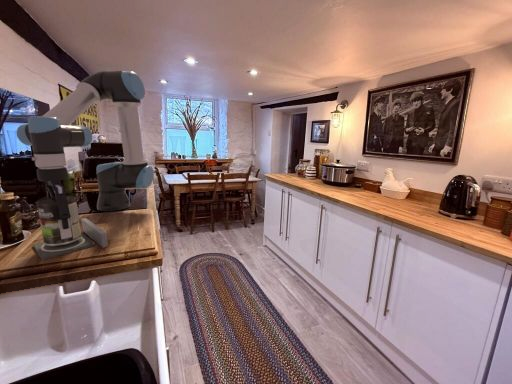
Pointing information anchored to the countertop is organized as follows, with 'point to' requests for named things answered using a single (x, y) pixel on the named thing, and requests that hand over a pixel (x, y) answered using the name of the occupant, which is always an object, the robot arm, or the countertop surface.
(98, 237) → the low wall
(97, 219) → the countertop surface
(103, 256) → the countertop surface
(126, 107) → the robot arm
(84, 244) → the mat
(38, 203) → the coffee can
